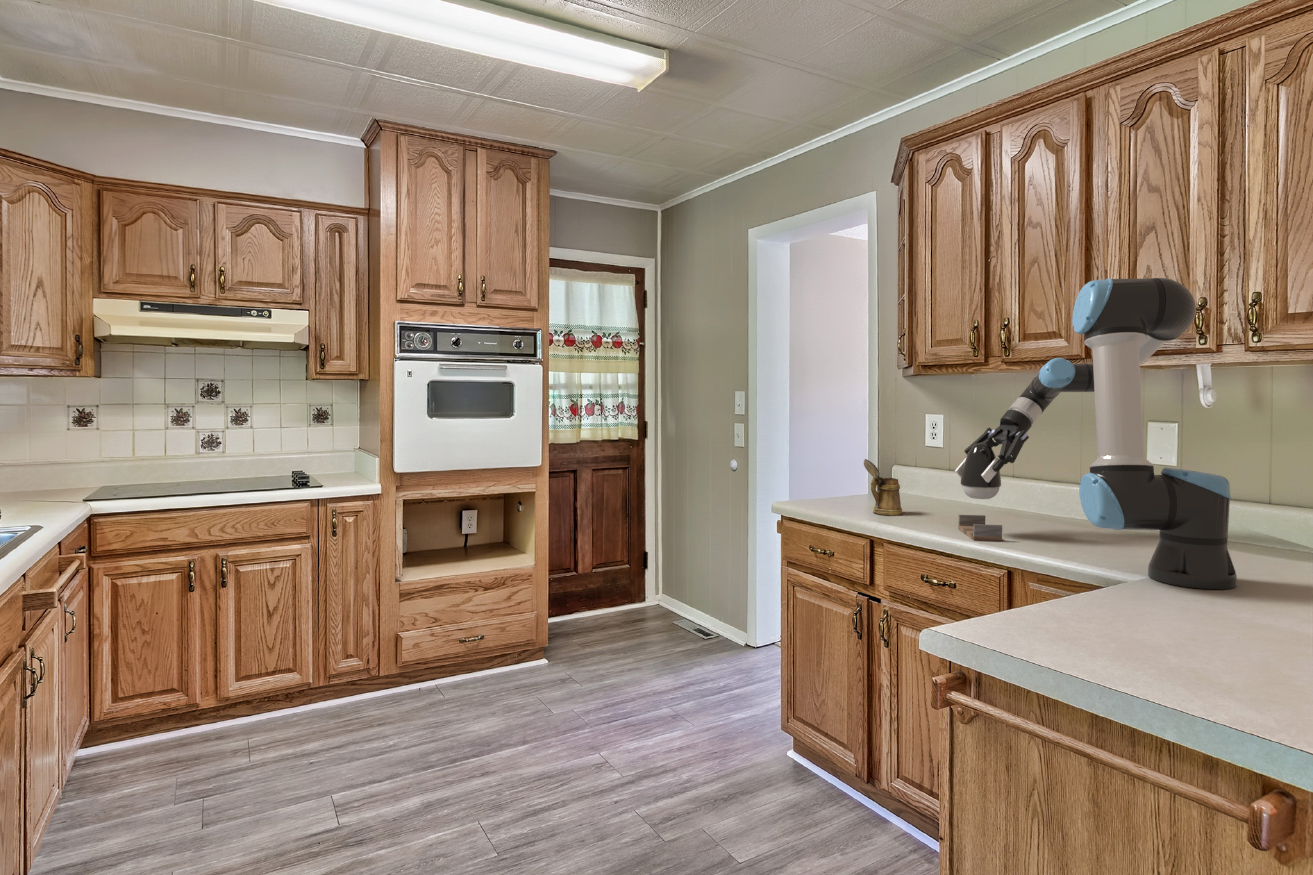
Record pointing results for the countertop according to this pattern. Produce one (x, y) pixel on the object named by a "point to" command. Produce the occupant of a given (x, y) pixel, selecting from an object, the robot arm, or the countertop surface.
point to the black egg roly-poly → (979, 473)
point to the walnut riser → (979, 528)
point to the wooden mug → (884, 492)
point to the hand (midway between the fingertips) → (971, 476)
